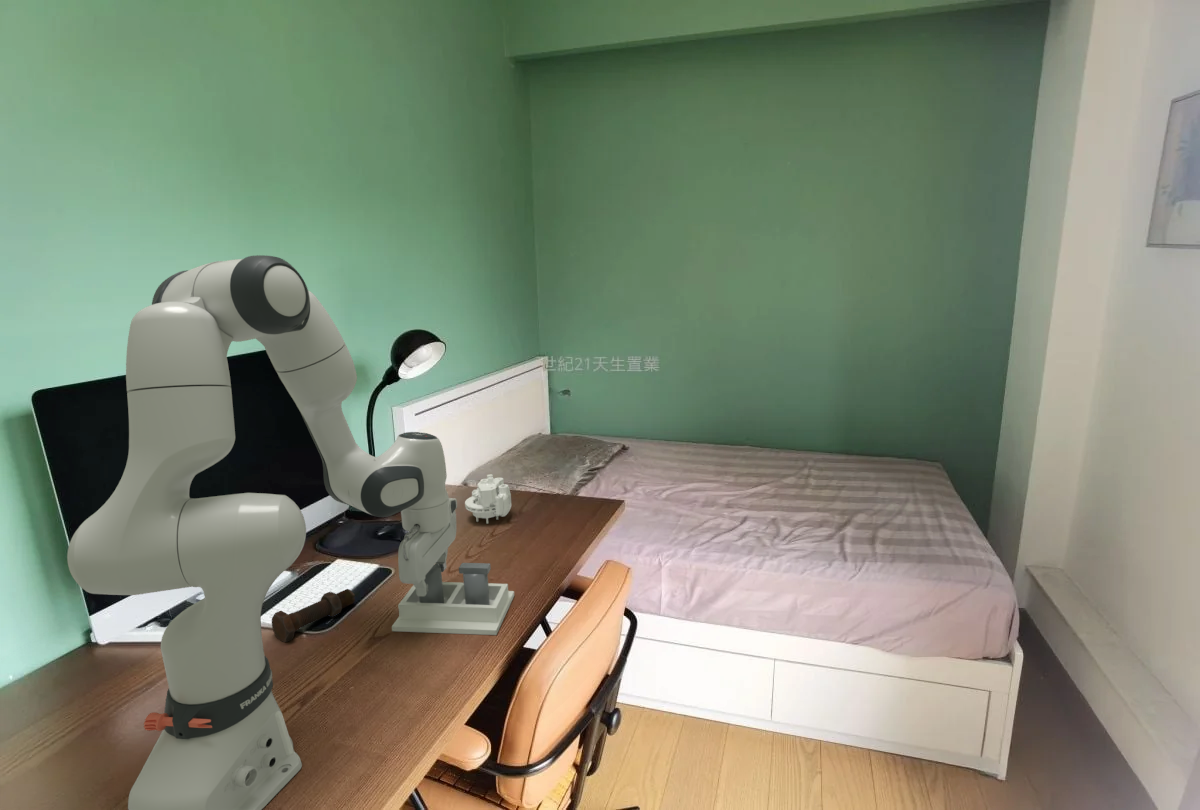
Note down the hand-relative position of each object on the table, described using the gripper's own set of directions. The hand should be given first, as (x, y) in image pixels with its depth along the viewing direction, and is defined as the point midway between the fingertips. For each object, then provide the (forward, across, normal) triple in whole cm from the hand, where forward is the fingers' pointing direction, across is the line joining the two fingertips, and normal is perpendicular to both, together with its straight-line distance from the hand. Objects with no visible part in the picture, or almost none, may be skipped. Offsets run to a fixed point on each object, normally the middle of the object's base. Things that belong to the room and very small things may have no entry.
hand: (432, 582), depth 123 cm
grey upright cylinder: (+6, 0, +1) cm, 6 cm away
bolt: (+7, -4, +22) cm, 23 cm away
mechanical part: (+6, +46, +3) cm, 46 cm away
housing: (+7, +1, -4) cm, 8 cm away
